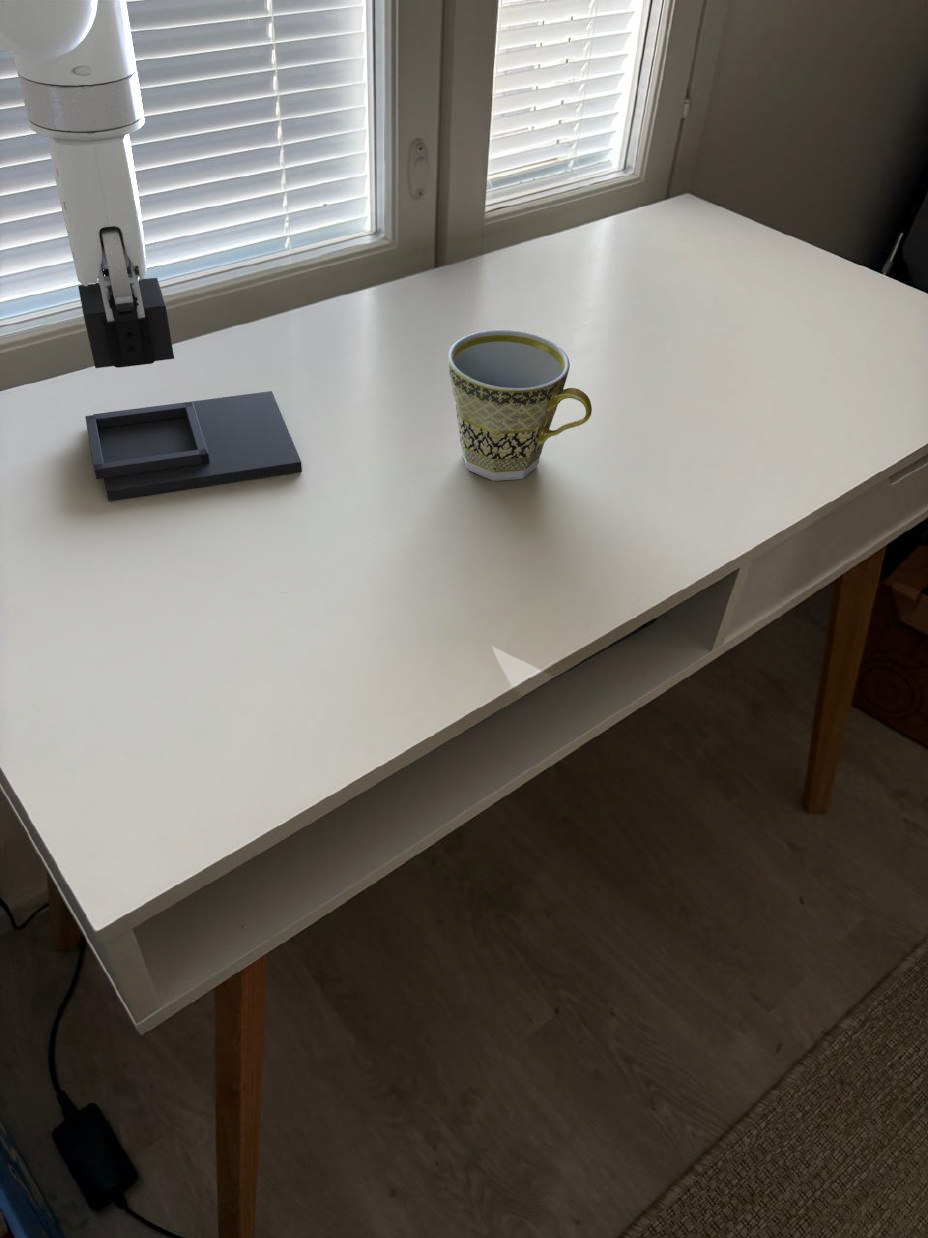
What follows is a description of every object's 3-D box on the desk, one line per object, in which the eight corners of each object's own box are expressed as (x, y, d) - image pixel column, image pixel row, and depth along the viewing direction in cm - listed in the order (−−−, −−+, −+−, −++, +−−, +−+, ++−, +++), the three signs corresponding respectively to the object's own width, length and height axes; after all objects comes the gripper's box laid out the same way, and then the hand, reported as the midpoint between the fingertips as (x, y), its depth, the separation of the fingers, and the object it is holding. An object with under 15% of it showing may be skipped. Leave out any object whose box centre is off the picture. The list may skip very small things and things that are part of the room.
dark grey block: (95, 368, 78) (83, 314, 75) (89, 337, 81) (77, 284, 78) (174, 359, 80) (166, 305, 77) (165, 329, 83) (157, 277, 80)
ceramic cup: (420, 464, 88) (424, 361, 81) (482, 416, 95) (491, 317, 88) (548, 521, 83) (563, 416, 77) (604, 467, 90) (623, 365, 83)
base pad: (100, 502, 82) (95, 482, 81) (87, 424, 90) (83, 404, 89) (302, 471, 87) (300, 451, 85) (272, 400, 95) (271, 381, 93)
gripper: (18, 65, 73) (72, 303, 85) (30, 147, 61) (90, 408, 74) (126, 60, 75) (163, 293, 87) (157, 139, 63) (194, 394, 76)
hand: (129, 343), depth 80 cm, fingers closed on dark grey block, 5 cm apart
